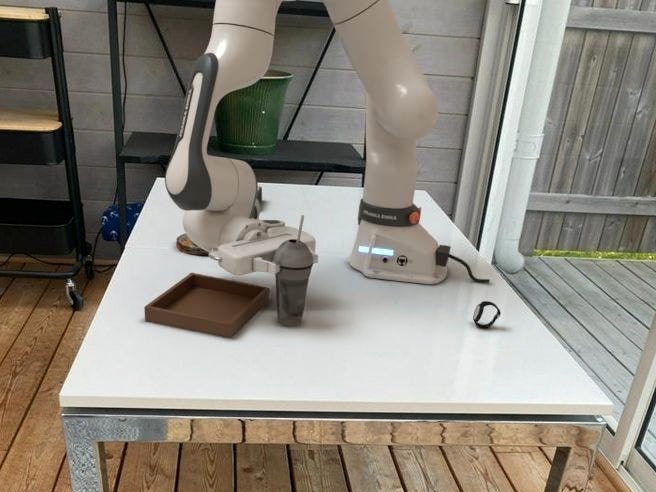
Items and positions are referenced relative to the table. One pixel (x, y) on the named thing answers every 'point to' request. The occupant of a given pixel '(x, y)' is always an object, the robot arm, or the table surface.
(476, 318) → the smartwatch
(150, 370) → the table surface
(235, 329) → the tray
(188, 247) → the burger
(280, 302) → the beverage cup
